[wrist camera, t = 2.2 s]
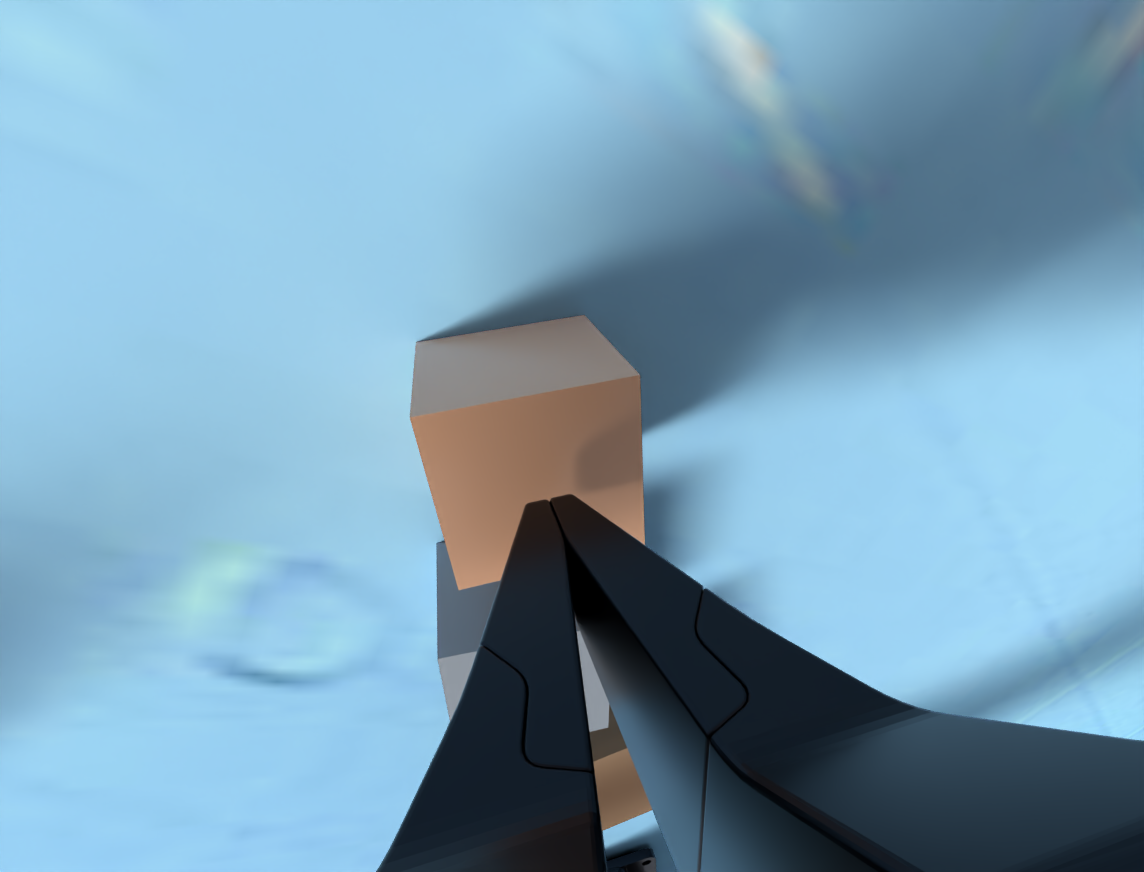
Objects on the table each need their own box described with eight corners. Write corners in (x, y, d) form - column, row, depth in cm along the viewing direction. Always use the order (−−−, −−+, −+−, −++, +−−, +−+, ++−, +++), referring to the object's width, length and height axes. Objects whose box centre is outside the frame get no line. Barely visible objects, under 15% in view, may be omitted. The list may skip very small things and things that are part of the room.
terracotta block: (595, 453, 15) (644, 546, 11) (452, 482, 14) (458, 590, 11) (583, 313, 13) (640, 374, 9) (415, 340, 12) (409, 417, 9)
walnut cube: (646, 686, 20) (690, 794, 17) (551, 724, 20) (575, 842, 17) (626, 621, 18) (670, 730, 15) (519, 663, 18) (539, 783, 15)
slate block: (574, 614, 17) (608, 727, 14) (453, 637, 17) (458, 762, 13) (573, 520, 16) (613, 624, 12) (436, 541, 15) (437, 658, 11)
